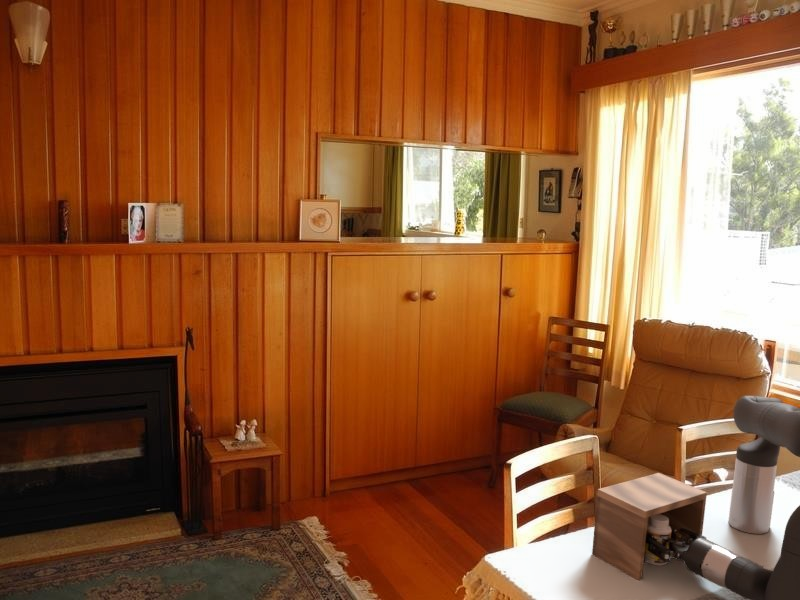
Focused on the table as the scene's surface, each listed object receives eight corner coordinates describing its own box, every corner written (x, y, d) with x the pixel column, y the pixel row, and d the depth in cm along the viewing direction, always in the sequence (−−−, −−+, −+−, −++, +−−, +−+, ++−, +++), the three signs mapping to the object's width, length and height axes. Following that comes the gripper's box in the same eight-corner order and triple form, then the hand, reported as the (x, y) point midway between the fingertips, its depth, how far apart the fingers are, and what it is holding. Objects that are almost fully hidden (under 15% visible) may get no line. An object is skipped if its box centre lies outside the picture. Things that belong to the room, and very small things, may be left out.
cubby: (652, 533, 183) (658, 472, 181) (699, 557, 173) (706, 492, 170) (592, 554, 172) (597, 489, 169) (638, 580, 161) (645, 511, 159)
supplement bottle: (657, 569, 166) (661, 525, 165) (636, 557, 171) (641, 515, 169) (673, 562, 169) (678, 519, 168) (652, 552, 174) (657, 510, 172)
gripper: (737, 538, 161) (670, 508, 175) (695, 554, 153) (628, 521, 167) (733, 571, 162) (666, 539, 176) (691, 589, 154) (625, 553, 168)
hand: (648, 530), depth 171 cm, fingers closed on supplement bottle, 5 cm apart
